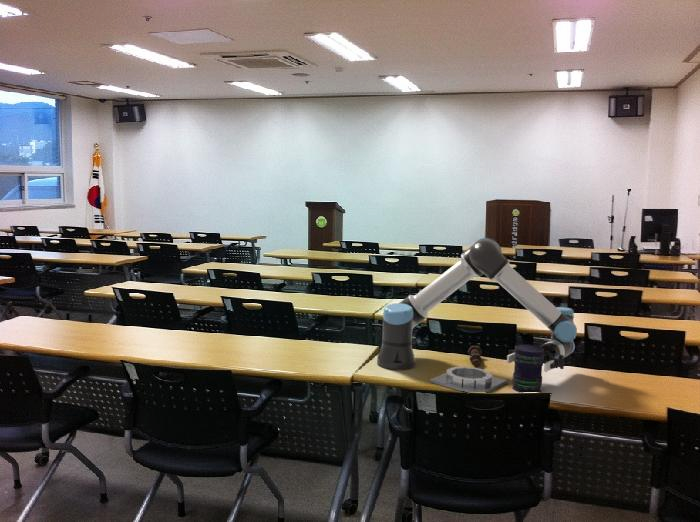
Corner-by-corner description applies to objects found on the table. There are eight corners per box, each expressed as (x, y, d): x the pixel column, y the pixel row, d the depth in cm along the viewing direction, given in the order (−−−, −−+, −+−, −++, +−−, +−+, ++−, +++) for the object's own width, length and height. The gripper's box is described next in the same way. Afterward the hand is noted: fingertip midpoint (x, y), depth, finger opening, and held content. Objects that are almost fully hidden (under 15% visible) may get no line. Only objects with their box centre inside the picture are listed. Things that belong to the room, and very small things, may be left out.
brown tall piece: (473, 371, 226) (472, 360, 241) (485, 366, 225) (483, 355, 240) (466, 358, 226) (466, 348, 240) (478, 353, 225) (477, 343, 239)
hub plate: (429, 382, 205) (430, 372, 204) (458, 371, 220) (459, 361, 219) (479, 396, 192) (480, 386, 191) (506, 383, 207) (507, 373, 206)
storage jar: (506, 388, 201) (509, 347, 199) (520, 383, 207) (523, 343, 206) (532, 396, 194) (535, 353, 192) (546, 390, 200) (549, 348, 199)
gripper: (583, 369, 206) (560, 382, 190) (518, 355, 222) (492, 366, 206) (585, 349, 205) (562, 360, 189) (519, 336, 221) (493, 345, 205)
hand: (526, 363), depth 198 cm, fingers open, 13 cm apart
